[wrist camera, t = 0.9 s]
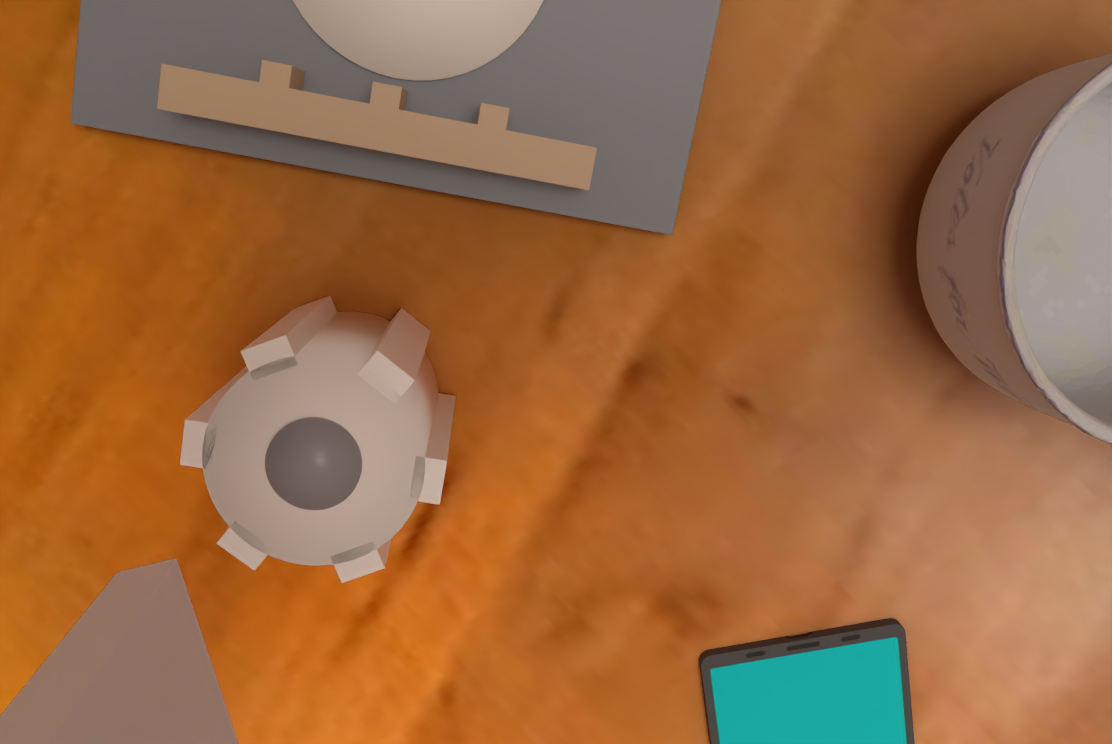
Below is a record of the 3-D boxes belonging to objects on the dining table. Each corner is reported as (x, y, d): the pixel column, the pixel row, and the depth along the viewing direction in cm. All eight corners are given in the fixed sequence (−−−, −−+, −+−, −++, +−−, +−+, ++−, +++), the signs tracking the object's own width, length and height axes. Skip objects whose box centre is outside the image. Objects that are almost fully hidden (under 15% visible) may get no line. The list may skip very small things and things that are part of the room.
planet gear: (236, 473, 32) (166, 561, 25) (260, 283, 31) (193, 321, 24) (437, 503, 33) (423, 598, 26) (469, 319, 32) (463, 366, 25)
